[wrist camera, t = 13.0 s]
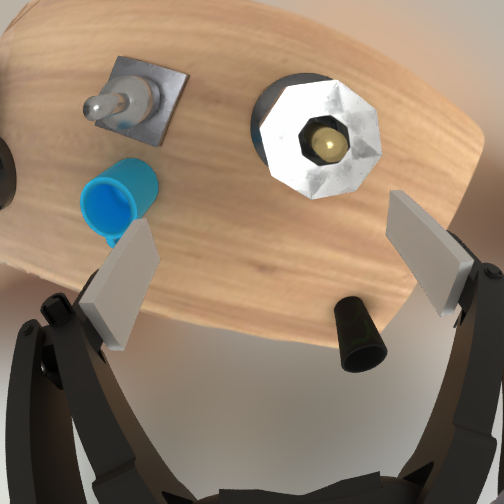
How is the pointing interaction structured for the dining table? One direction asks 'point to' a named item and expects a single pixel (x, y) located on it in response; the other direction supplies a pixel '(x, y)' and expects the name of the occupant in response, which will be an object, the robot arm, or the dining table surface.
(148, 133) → the stand
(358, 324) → the cup
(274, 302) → the dining table surface
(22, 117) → the dining table surface
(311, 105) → the faceted steel ring
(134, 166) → the mug
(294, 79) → the hub
